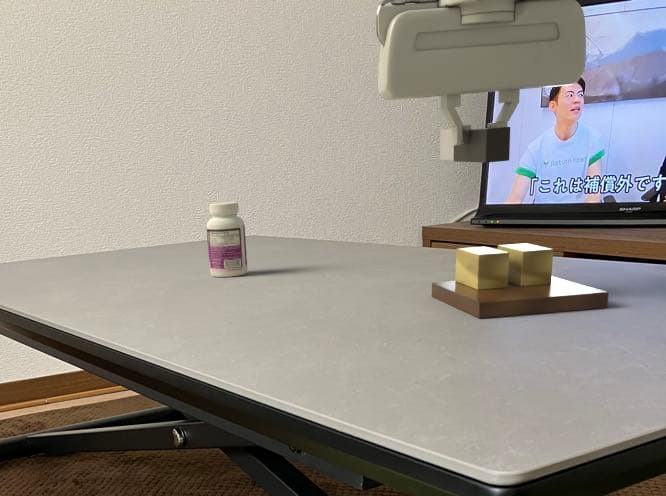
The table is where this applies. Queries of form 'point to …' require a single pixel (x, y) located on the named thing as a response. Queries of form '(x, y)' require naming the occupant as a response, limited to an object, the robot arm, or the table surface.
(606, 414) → the table surface
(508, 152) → the charcoal gray box
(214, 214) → the pill bottle
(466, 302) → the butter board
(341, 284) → the table surface
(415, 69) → the robot arm
